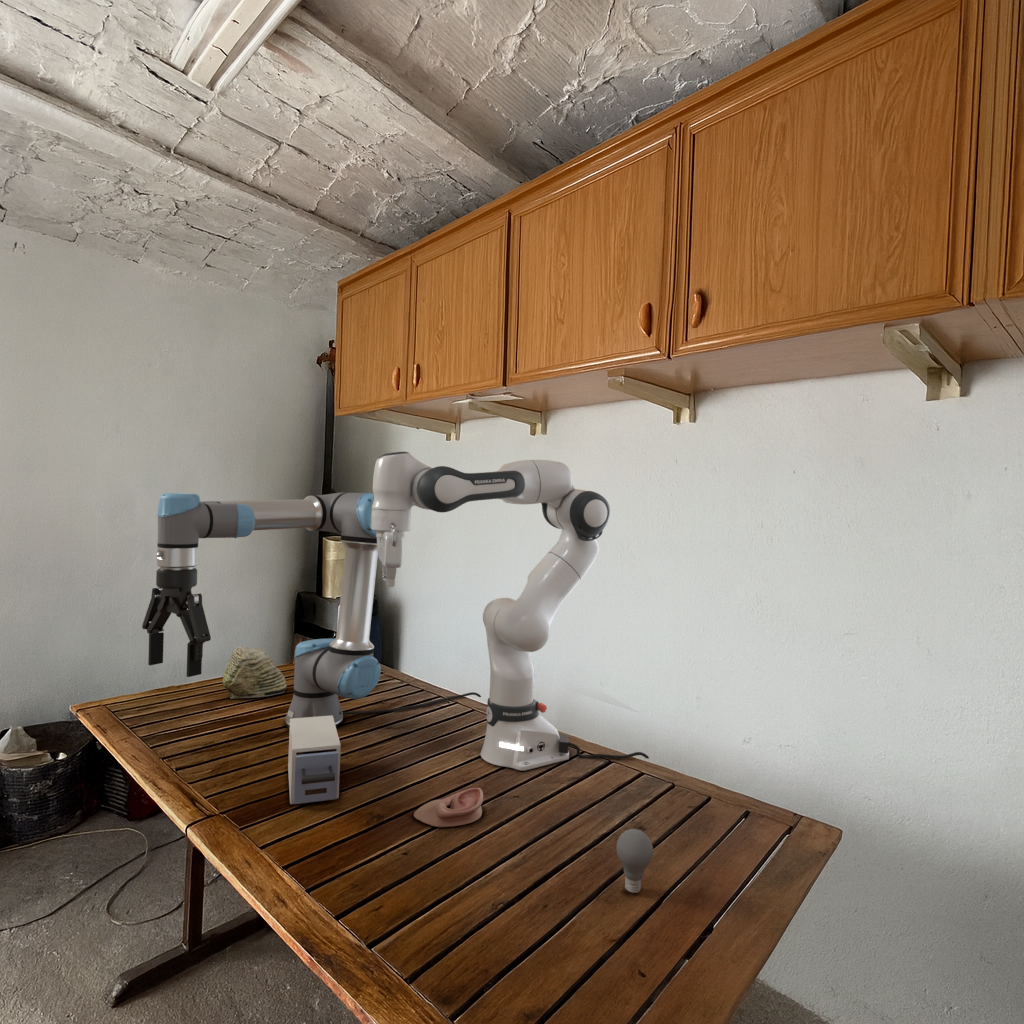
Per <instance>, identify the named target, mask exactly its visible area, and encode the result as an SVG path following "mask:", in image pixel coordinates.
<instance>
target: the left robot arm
mask: <svg viewBox="0 0 1024 1024" xmlns="http://www.w3.org/2000/svg"><path fill="white" fill-rule="evenodd" d="M373 502H374V494H373V492H346V491H345V492H343V491H342V492H334V493H328V494H319V495H318V494H317V495H307V496H306V497H305V498H303V499H262V500H261V499H260V500H259V499H257V500H256V499H255V500H254V499H253V500H252V499H251V500H216V501H214V500H208V501H207V500H206V501H204V500H203V501H201V499H200V496H199V494H197V493H178V492H177V493H175V492H164V493H163V494H161V495H160V497H159V500H158V508H157V513H156V516H157V551H156V554H155V555H156V558H157V559H156V566H157V567H159V568H158V569H157V570H156V571H155V572H156V573H155V575H156V576H155V580H156V581H155V585H156V587H152V590H151V596H150V597H151V598H150V601H149V603H148V607H147V610H146V613H145V616H144V619H143V622H142V625H141V628H142V629H143V630H146V633H147V634H148V658H147V659H148V661H147V662H148V663H147V665H148V666H155V665H160V664H163V663H164V642H165V641H164V638H165V633H164V631H165V629H164V627H165V625H166V624H167V621H168V620H169V618H170V616H171V615H172V614H175V615H176V617H177V618H179V619H180V621H181V623H182V626H183V629H184V631H185V633H186V635H187V638H188V640H189V641H188V643H186V645H187V647H186V652H187V653H186V677H187V678H190V677H191V678H192V677H196V676H200V675H202V665H203V651H204V643H207V642H210V641H211V639H212V637H211V633H210V629H209V625H208V621H207V618H206V614H205V613H206V612H205V610H204V607H203V595H202V593H192V588H194V587H196V586H197V584H198V569H197V568H195V567H197V566H198V565H199V539H230V538H231V539H233V538H234V539H237V538H246V537H249V536H250V535H251V534H252V533H253V531H267V530H268V531H269V530H289V529H306V530H307V531H309V532H315V531H317V532H319V531H320V532H329V533H335V534H339V535H340V542H341V544H342V545H343V546H344V549H345V551H344V561H343V569H342V579H341V590H340V598H339V608H338V617H337V625H336V626H337V627H336V634H335V635H336V636H335V638H317V639H316V638H315V639H308V640H304V641H300V642H299V643H298V644H297V645H296V646H295V650H294V655H293V657H294V672H293V673H294V674H293V695H292V696H293V697H292V699H291V702H290V704H289V708H288V711H287V713H286V715H285V726H286V728H287V729H289V730H290V719H293V718H306V717H319V716H332V715H333V718H334V722H335V726H336V728H337V727H339V726H340V725H342V723H343V722H344V715H345V716H347V715H368V714H382V713H389V712H397V711H404V710H410V709H417V708H421V707H425V706H430V705H433V704H436V703H441V702H444V701H449V700H453V699H458V698H464V697H468V696H472V695H473V696H476V697H478V698H482V695H481V694H479V693H478V692H474V691H473V692H467V693H464V694H463V693H462V694H457V695H451V696H447V697H443V698H439V699H434V700H432V701H428V702H424V703H419V704H414V705H409V706H402V707H394V708H386V709H377V710H359V711H358V710H353V711H352V710H351V711H343V709H342V706H341V702H340V699H339V696H340V698H344V699H351V700H360V699H363V698H366V697H367V696H368V695H370V694H371V693H372V690H374V689H375V688H376V687H377V685H378V684H379V681H380V677H381V671H382V669H381V664H380V662H379V661H378V658H376V657H375V656H374V653H375V652H374V650H375V645H374V644H373V643H372V642H371V641H370V635H371V626H372V625H371V623H372V614H373V606H374V605H373V604H374V595H375V587H376V576H377V567H378V559H379V557H378V549H377V537H376V534H377V533H376V530H371V514H372V505H373Z"/></svg>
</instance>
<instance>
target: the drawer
mask: <svg viewBox="0 0 1024 1024" xmlns="http://www.w3.org/2000/svg"><path fill="white" fill-rule="evenodd" d="M337 779H338V751H334V749H329V750H319V751H309V752H298V753H296V755H295V780H294V804H293V805H299V804H307V803H316V802H323V801H332V800H337V799H338V798H337Z"/></svg>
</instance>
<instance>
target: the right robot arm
mask: <svg viewBox="0 0 1024 1024" xmlns="http://www.w3.org/2000/svg"><path fill="white" fill-rule="evenodd" d="M372 477H373V478H372V493H373V494H374V502H373V505H372V514H371V530H376V533H377V534H376V537H377V549H378V560H379V561H380V562H381V569H382V580H383V582H385V585H386V587H387V588H394V587H395V583H396V575H397V569H400V568H401V567H402V563H403V539H405V532H410V531H411V520H412V507H418V508H419V509H422V510H427V511H433V512H437V513H449V512H452V511H454V510H456V509H458V508H459V507H461V506H462V505H465V504H466V503H469V502H477V501H487V500H502V501H503V502H504V503H505V504H510V505H536V504H541V511H542V515H543V518H544V520H545V521H546V522H547V523H548V525H550V526H551V527H553V528H555V529H558V530H561V531H560V535H559V538H558V540H557V541H556V543H555V544H554V546H552V548H550V550H549V551H548V552H547V553H546V554H545V555H544V556H543V558H542V559H540V561H539V562H537V564H536V565H535V567H533V569H532V570H531V571H530V572H529V574H528V576H527V581H526V584H525V586H524V587H523V590H522V592H521V594H520V595H519V596H518V598H516V599H515V598H511V597H498V598H494V599H492V600H491V601H489V602H488V603H487V604H486V606H485V607H484V609H483V613H482V621H483V626H484V627H485V633H486V643H487V651H488V658H489V669H490V670H489V672H490V675H489V696H488V698H487V705H486V722H487V723H486V731H485V735H484V741H483V744H482V747H481V749H480V753H479V754H480V757H481V759H482V760H483V761H485V762H486V763H489V764H491V765H493V766H499V767H505V768H511V769H513V770H517V771H524V772H525V771H528V770H533V769H536V768H540V767H541V768H542V767H545V766H548V765H552V764H557V763H559V762H564V761H568V760H569V759H570V751H569V747H573V748H574V749H575V750H576V755H577V756H578V757H579V758H582V759H595V758H607V759H618V760H619V759H622V760H623V759H628V758H633V757H636V756H641V757H643V758H645V759H650V757H649V756H648V755H647V753H644V752H641V751H636V752H632V753H628V754H623V755H619V754H606V753H594V754H582V753H581V749H580V747H579V745H577V744H575V743H573V742H570V741H569V734H563V733H559V730H558V728H556V727H555V726H554V725H553V724H552V723H551V722H550V721H548V719H546V718H545V717H543V716H542V715H541V714H540V713H542V714H544V713H546V712H547V709H548V708H547V707H548V706H547V705H546V704H544V703H543V702H539V701H538V700H536V699H534V692H535V690H534V689H535V668H534V665H533V661H532V659H531V656H530V653H534V652H538V651H539V650H541V649H543V647H544V646H545V645H546V644H547V643H548V642H549V638H550V635H551V625H552V623H553V621H554V619H555V616H556V614H557V612H558V610H559V609H560V607H561V605H562V604H563V602H564V601H565V600H566V598H568V596H569V595H570V594H571V592H572V591H573V590H574V589H575V588H576V587H577V585H578V584H579V583H580V582H581V581H582V579H583V578H584V577H585V576H586V574H587V573H588V571H589V570H590V569H591V567H592V566H593V564H594V562H595V561H596V559H597V557H598V555H599V552H600V545H599V542H598V541H597V539H598V538H600V537H601V536H602V535H603V532H604V529H605V528H606V526H607V525H608V522H609V520H610V515H611V508H610V504H609V502H608V500H607V499H606V498H605V497H604V496H603V495H601V494H600V493H598V492H596V491H592V490H586V489H581V488H580V489H579V488H575V487H574V485H573V475H572V472H571V470H570V468H569V467H568V466H567V464H565V463H564V462H560V461H555V460H549V459H548V460H547V459H525V460H516V461H512V462H508V463H504V464H503V465H501V466H500V468H499V469H498V470H495V471H487V472H462V471H460V470H458V469H455V468H453V467H451V466H445V465H439V466H434V467H432V466H429V465H426V464H425V463H423V462H422V461H420V460H418V459H417V458H415V457H414V456H413V455H412V454H411V453H410V452H408V451H395V452H387V453H384V454H381V455H379V456H378V458H377V459H376V461H375V464H374V469H373V476H372Z"/></svg>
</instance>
